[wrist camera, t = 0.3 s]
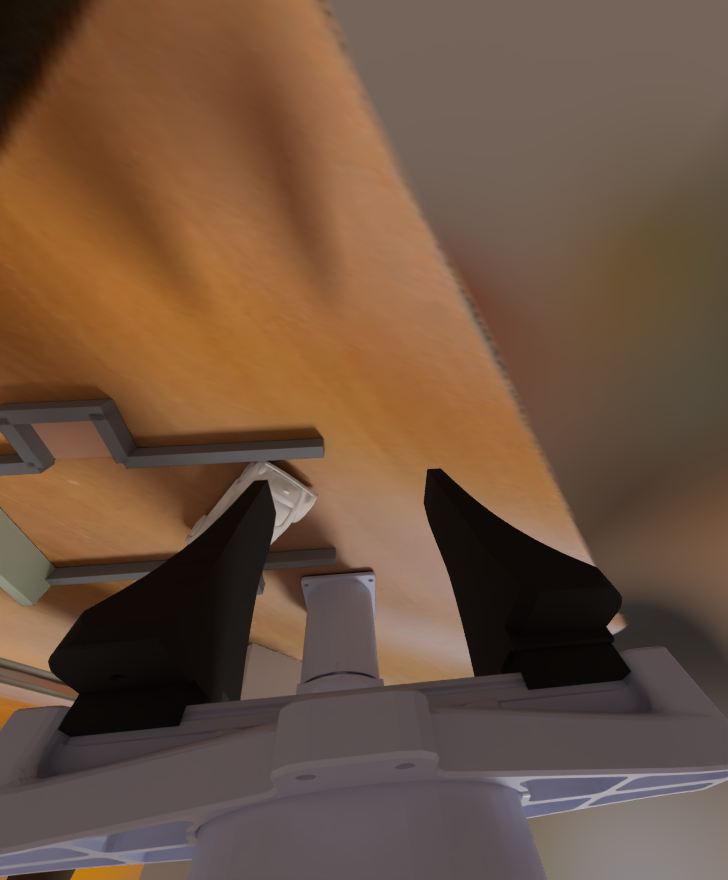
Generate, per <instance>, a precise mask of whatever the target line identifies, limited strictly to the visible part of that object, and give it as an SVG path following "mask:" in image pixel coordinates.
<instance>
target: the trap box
mask: <svg viewBox="0 0 728 880" xmlns="http://www.w3.org/2000/svg"><path fill="white" fill-rule="evenodd" d="M0 431H1V433H2V434H3V435H4V437H5V438H6V439H7V440H8V442H9V443H10V444H11V446H12V447H13V448H14V449H15V451H16V452H17V453H18V454H15V455H0V476H3V475H21V474H39V473H42V472H43V471H45V470H46V469H48V468H49V467H51V466H52V465H54V464H55V463H54V462H53V461H54V460H56V459H74V458H92V457H111V456H112V457H113V459H114V461H115V462H116V463H124V465H125V467H126V469H128V468H146V467H164V466H182V465H200V464H218V463H235V462H253V461H271V460H289V459H307V458H324V450H325V448H324V439H323V438H318V439H299V440H280V441H261V442H242V443H223V444H205V445H186V446H167V447H148V448H137V446H136V444H135V442H134V440H133V438H132V436H131V435H130V433H129V431H128V429H127V427H126V425H125V423H124V421H123V419H122V417H121V415H120V413H119V411H118V409H117V407H116V405H115V403H114V401H113V399H99V400H77V401H54V402H32V403H9V404H2V405H0ZM166 561H167V560H162V561H148V562H134V563H120V564H106V565H92V566H78V567H64V568H55V567H54V566H53V565H52V564H51V562H50V561H49V560H48V559H47V558H46V557H45V556H44V555H43V554H42V553H41V552H40V551H39V550H38V548H37V547H36V546H35V545H34V544H33V543H32V542H31V541H30V540H29V539H28V538H27V537H26V535H25V534H24V533H23V532H22V531H21V530H20V529H19V528H18V527H17V526H16V525H15V524H14V522H13V521H12V520H11V519H10V518H9V517H8V516H7V515H6V514H5V513H4V512H3V511H2V510H1V508H0V587H1V588H2V589H3V590H4V591H6V592H7V593H8V594H9V595H10V596H11V597H13V598H14V599H15V600H16V601H17V602H18V603H19V604H21V605H22V606H28V605H34V604H35V603H36V602H37V601H38V600H39V599H40V598H41V597H42V596H43V594H44V593H45V592H46V591H47V590H48V589H49V588H50V587H51V586H58V585H71V584H84V583H98V582H111V581H125V580H138V579H141V578H143V577H144V576H146V575H147V574H149V573H150V572H152V571H153V570H155V569H156V568H158V567H159V566H161V565H162V564H163V563H165V562H166ZM326 565H336V550H335V548H329V549H315V550H301V551H287V552H273V553H268V554H267V558H266V561H265V564H264V568H263V570H272V569H285V568H299V567H312V566H326ZM264 586H265V582H264V579H263V576H262V575H261V578H260V582H259V586H258V590H257V594H256V595H259V594H263V590H264Z"/></svg>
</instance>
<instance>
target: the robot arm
mask: <svg viewBox="0 0 728 880" xmlns="http://www.w3.org/2000/svg"><path fill="white" fill-rule="evenodd" d="M424 506H425V510H426V514H427V518H428V522H429V525H430V527H431V530H432V533H433V535H434V538H435V540H436V543H437V545H438V548H439V550H440V553H441V555H442V558H443V560H444V563H445V565H446V568H447V571H448V574H449V577H450V581H451V584H452V588H453V591H454V595H455V598H456V602H457V606H458V609H459V613H460V617H461V621H462V625H463V629H464V633H465V637H466V641H467V645H468V649H469V654H470V658H471V663H472V667H473V671H474V676H475V677H470V678H459V679H449V680H439V681H429V682H419V683H409V684H399V685H389V686H384V682H383V679H380V678H379V668H378V657H377V646H376V636H375V625H374V620H375V573H373V572H361V573H348V574H335V575H322V576H309V577H303V578H302V579H301V585H302V590H303V594H304V599H305V603H306V608H307V617H306V628H305V638H304V649H303V659H302V670H301V680H300V684H297V690H296V695H289V696H279V697H269V698H259V699H249V700H241V692H242V684H243V676H244V668H245V661H246V654H247V647H248V640H249V634H250V628H251V622H252V616H253V611H254V605H255V600H256V594H257V590H258V586H259V582H260V578H261V575H262V571H263V568H264V564H265V561H266V558H267V554H268V551H269V547H270V544H271V540H272V536H273V532H274V526H275V519H276V510H275V506H274V502H273V498H272V494H271V490H270V486H269V482H268V480H255V481H253V482H252V483H251V484H250V485H249V486H248V487H247V489H246V490H245V491H244V492H243V493H242V494H241V495H240V496H239V497H238V498H237V499H236V501H235V502H234V503H233V504H232V505H231V506H230V507H229V508H228V509H227V510H226V511H225V512H224V513H223V514H222V515H221V516H220V517H219V518H218V519H217V520H216V521H215V522H214V523H213V524H212V525H211V526H210V527H209V528H208V529H206V530H205V531H204V532H203V533H202V534H201V535H200V536H198V537H197V538H196V539H195V540H194V541H192V542H191V543H190V544H189V545H188V546H186V547H185V548H184V549H183V550H181V551H180V552H179V553H177V554H176V555H174V556H173V557H172V558H170V559H169V560H167V561H166V562H165V563H163V564H162V565H161V566H159V567H158V568H156V569H155V570H153V571H152V572H150V573H149V574H147V575H146V576H144V577H143V578H141V579H139V580H138V581H136V582H135V583H133V584H131V585H130V586H128V587H126V588H125V589H123V590H121V591H120V592H118V593H116V594H114V595H112V596H111V597H109V598H107V599H105V600H104V601H102V602H100V603H98V604H96V605H95V606H93V607H91V608H89V609H87V610H85V611H84V612H83V613H82V615H81V616H80V617H79V619H78V620H77V621H76V623H75V624H74V625H73V627H72V628H71V629H70V631H69V632H68V633H67V635H66V636H65V637H64V639H63V640H62V641H61V643H60V644H59V645H58V647H57V648H56V649H55V651H54V652H53V653H52V655H51V656H50V658H49V661H48V663H49V667H50V670H51V672H52V673H53V674H54V675H55V676H56V677H58V678H59V679H60V680H62V681H63V682H64V683H66V684H67V685H68V686H70V687H71V688H72V689H74V690H75V691H76V692H78V693H79V696H78V697H77V699H76V700H75V702H74V704H73V705H72V707H71V708H70V707H67V706H46V707H36V708H25V709H19V710H17V711H15V712H14V713H13V714H12V715H11V717H10V718H9V720H8V721H7V722H6V724H5V725H4V726H3V728H2V729H1V730H0V877H3V876H12V875H20V874H29V873H39V872H49V871H59V870H70V869H82V868H94V867H107V866H119V865H131V864H132V865H133V864H146V863H159V862H172V861H185V860H192V862H191V866H190V870H189V874H188V878H187V880H547V877H546V874H545V872H544V869H543V866H542V863H541V860H540V857H539V854H538V851H537V848H536V845H535V842H534V839H533V836H532V833H531V830H530V827H529V824H528V821H527V818H533V817H538V816H543V815H550V814H555V813H561V812H567V811H573V810H578V809H584V808H589V807H595V806H601V805H607V804H613V803H618V802H625V801H630V800H636V799H643V798H649V797H656V796H663V795H669V794H677V793H684V792H692V791H700V790H704V789H707V788H709V787H712V786H714V785H716V784H719V783H721V782H724V781H727V780H728V721H727V719H726V718H725V717H724V716H723V715H722V714H721V712H720V711H719V710H718V709H717V708H716V707H715V705H714V704H713V703H712V702H711V701H710V700H709V699H708V697H707V696H706V695H705V694H704V693H703V691H702V690H700V688H699V687H698V686H697V684H696V683H695V682H694V681H693V680H692V679H691V677H690V676H689V675H688V674H687V673H686V672H685V670H684V669H683V668H682V667H681V666H680V665H679V663H678V662H677V661H676V660H675V659H674V657H673V656H672V655H671V654H670V653H669V652H668V650H667V649H666V648H664V647H661V646H659V647H649V648H639V649H631V650H626V651H623V652H621V653H620V654H619V653H618V652H617V651H616V649H615V648H614V646H613V645H612V644H611V643H612V642H614V637H613V635H612V634H611V633H610V631H609V630H608V629H607V627H606V626H607V625H608V624H609V623H610V621H611V620H612V619H613V617H614V616H615V615H616V614H617V612H618V611H619V609H620V607H621V604H622V597H621V595H620V593H619V592H618V591H617V590H616V588H615V587H614V586H613V585H612V584H611V583H610V581H609V580H608V579H607V578H606V577H605V576H604V574H603V573H602V572H601V571H600V570H599V569H598V568H597V567H594V566H592V565H590V564H587V563H585V562H582V561H580V560H578V559H575V558H573V557H570V556H568V555H566V554H564V553H561V552H559V551H557V550H555V549H553V548H551V547H549V546H547V545H545V544H543V543H541V542H539V541H537V540H535V539H533V538H532V537H530V536H528V535H526V534H525V533H523V532H521V531H519V530H518V529H516V528H514V527H513V526H511V525H510V524H508V523H507V522H505V521H504V520H502V519H500V518H499V517H497V516H496V515H495V514H493V513H492V512H490V511H489V510H488V509H487V508H485V507H484V506H483V505H481V504H480V503H479V502H478V501H476V500H475V499H474V498H473V497H471V496H470V495H469V494H468V493H467V492H466V491H464V490H463V489H462V488H461V487H460V486H459V485H458V484H457V483H456V482H455V481H453V480H452V479H451V478H450V477H449V476H448V475H447V474H446V473H445V472H444V471H443V470H442V469H441V468H439V469H427V477H426V486H425V496H424Z"/></svg>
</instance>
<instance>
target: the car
mask: <svg viewBox="0 0 728 880" xmlns="http://www.w3.org/2000/svg"><path fill="white" fill-rule="evenodd" d="M255 480H268V482H269V486H270V490H271V494H272V498H273V502H274V506H275V510H276V519H275V526H274V532H273V536H272V540H271V544H272V543H273V542H274V541H275V540H276V539H277V538H278V537H279V536H280V535H281V534H282V533H283V532H284V531H285V530H286V529H287V528H288V527H289V525H290V524H291V523H295V522H298V521H299V520H300V519H302V518H303V517H304V516H305V515H306V514H307V512H308V511H309V510H310V509H311V507H312V506H313V504H314V503H315V501H316V499H317V496H318V495H317V494H315V493H313V492H312V491H311V490H310V489H308V488H307V487H306V486H304V485H303V484H302V483H300V482H299V481H298V480H296V479H295V478H293V477H292V476H290V475H289V474H287V473H286V472H284V471H283V470H281V469H280V468H278V467H276V466H275V465H273V464H271V463H269V462H268V461H253V462H251V463H250V464H249V465H248V466H247V467H246V468H245V469H244V471H243V472H242V474H241V476H240V477H239V478H238V479H236V480H235V482H234V483H233V484H232V485H231V487H230V488H229V489H228V490H227V492H226V493H225V494H224V495H223V497H222V498H221V499H220V501H219V502H218V503H217V504H216V506H215V507H214V508H213V509H212V511H211V512H210V513H209V514H208V516H206V515H203V516H202V517H201V518H200V519H199V520H198V521H197V522H196V524H195V525H194V526H193V528H192V530H191V532H190V534H189V535H188V536H187V538H186V540H185V541H186V542H188V545H189V544H190V543H191V542H192V541H194V540H195V539H196V538H197V537H198V536H200V535H201V534H202V533H203V532H204V531H205V530H206V529H208V528H209V527H210V526H211V525H212V524H213V523H214V522H215V521H216V520H217V519H218V518H219V517H220V516H221V515H222V514H223V513H224V512H225V511H226V510H227V509H228V508H229V507H230V506H231V505H232V504H233V503H234V502H235V501H236V499H237V498H238V497H239V496H240V495H241V494H242V493H243V492H244V491H245V490H246V489H247V487H248V486H249V485H250V484H251V483H252V482H253V481H255ZM271 544H270V545H271Z"/></svg>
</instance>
